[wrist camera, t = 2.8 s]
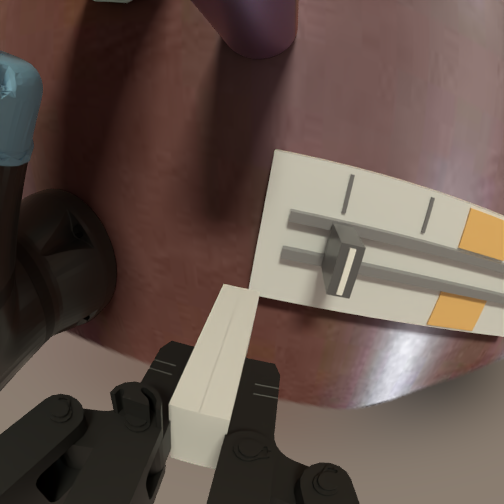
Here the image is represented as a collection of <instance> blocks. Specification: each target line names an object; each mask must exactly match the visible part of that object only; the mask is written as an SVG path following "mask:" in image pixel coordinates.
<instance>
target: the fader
mask: <svg viewBox="0 0 504 504" xmlns="http://www.w3.org/2000/svg"><path fill="white" fill-rule="evenodd" d="M365 249H366V247H365V246H364V244H363V242H362V241H361V239H360V237H359V236H358V234H357V232H356V231H355V229H354V227H350V226H346V225H341V224H337V223H333V225H332V228H331V232H330V236H329V240H328V244H327V248H326V251H325V255H324V259H323V262H322V266H321V268H322V274H323V279H324V285H325V290H326V294H327V295H332V296H337V297H343V298H348V299H349V298H350V296H351V293H352V290H353V287H354V284H355V281H356V278H357V275H358V272H359V269H360V265H361V262H362V259H363V256H364V253H365Z"/></svg>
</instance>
